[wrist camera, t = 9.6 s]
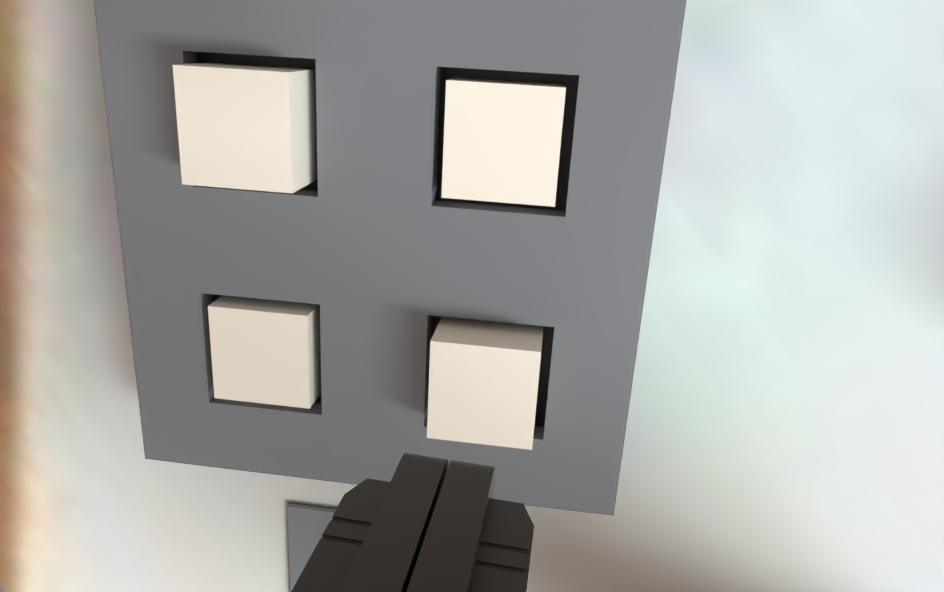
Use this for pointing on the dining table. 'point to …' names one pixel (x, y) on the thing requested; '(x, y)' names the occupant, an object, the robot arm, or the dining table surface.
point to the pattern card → (304, 534)
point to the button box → (394, 229)
